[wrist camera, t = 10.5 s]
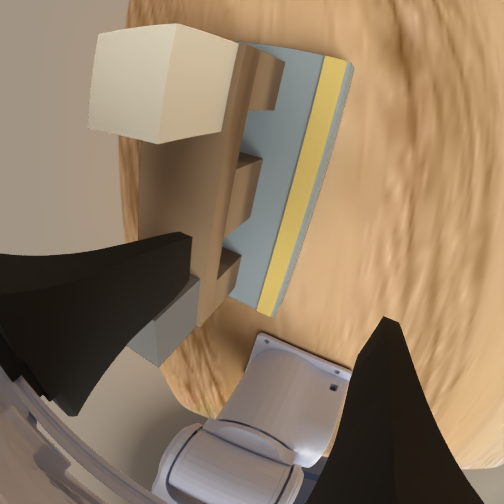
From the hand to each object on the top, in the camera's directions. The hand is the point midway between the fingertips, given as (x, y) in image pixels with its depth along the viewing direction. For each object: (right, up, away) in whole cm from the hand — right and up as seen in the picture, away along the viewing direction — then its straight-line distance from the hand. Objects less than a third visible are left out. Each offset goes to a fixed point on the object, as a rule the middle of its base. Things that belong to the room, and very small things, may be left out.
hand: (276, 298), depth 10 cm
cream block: (-4, +9, +1) cm, 10 cm away
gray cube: (-6, -1, +8) cm, 10 cm away
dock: (-2, +7, +10) cm, 13 cm away
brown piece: (-3, +6, +8) cm, 11 cm away
